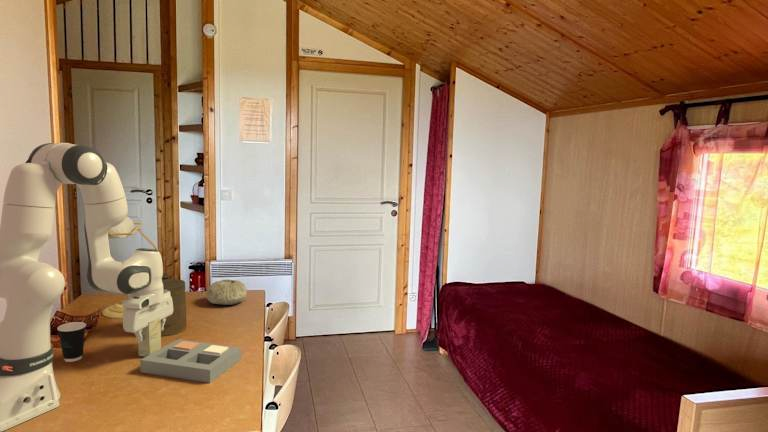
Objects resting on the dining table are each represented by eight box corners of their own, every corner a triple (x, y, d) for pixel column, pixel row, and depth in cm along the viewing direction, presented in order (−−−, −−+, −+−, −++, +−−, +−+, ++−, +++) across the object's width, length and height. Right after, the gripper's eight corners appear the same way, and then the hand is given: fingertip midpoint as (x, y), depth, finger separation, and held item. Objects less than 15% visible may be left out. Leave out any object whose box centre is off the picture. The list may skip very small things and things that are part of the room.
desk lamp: (107, 301, 219) (104, 212, 214) (163, 298, 226) (162, 212, 222) (92, 324, 190) (88, 222, 185) (157, 319, 198) (155, 221, 193)
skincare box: (149, 357, 161) (148, 322, 160) (137, 356, 162) (136, 320, 161) (162, 350, 167) (161, 316, 166) (150, 349, 168) (149, 315, 167)
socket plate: (210, 382, 145) (209, 368, 145) (140, 372, 151) (140, 358, 150) (241, 359, 163) (241, 346, 162) (177, 350, 168) (177, 337, 167)
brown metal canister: (170, 320, 197) (169, 267, 195) (194, 328, 190) (193, 272, 187) (135, 330, 185) (133, 274, 182) (160, 339, 177) (158, 280, 175)
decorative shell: (233, 310, 212) (233, 288, 211) (197, 306, 216) (197, 284, 215) (253, 299, 229) (253, 278, 228) (219, 295, 233) (219, 275, 232)
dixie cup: (88, 352, 164) (86, 320, 163) (87, 361, 157) (85, 328, 156) (59, 356, 160) (58, 323, 159) (57, 365, 153) (56, 331, 152)
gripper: (161, 287, 173) (163, 324, 175) (118, 304, 153) (120, 346, 155) (177, 288, 172) (178, 326, 174) (135, 306, 152) (137, 348, 154)
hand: (150, 335), depth 164 cm, fingers open, 8 cm apart
